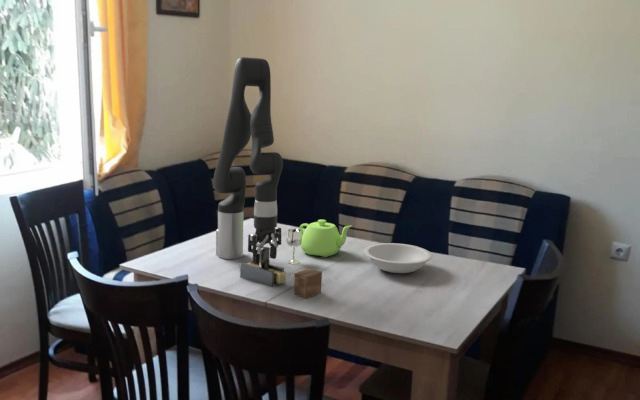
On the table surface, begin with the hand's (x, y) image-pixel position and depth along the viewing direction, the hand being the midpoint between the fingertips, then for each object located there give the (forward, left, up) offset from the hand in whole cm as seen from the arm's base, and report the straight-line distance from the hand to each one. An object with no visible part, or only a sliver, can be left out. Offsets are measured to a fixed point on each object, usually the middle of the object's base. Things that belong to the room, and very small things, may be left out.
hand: (264, 261), depth 212 cm
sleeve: (-1, 0, -7) cm, 7 cm away
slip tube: (0, 0, -6) cm, 6 cm away
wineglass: (-5, +22, -7) cm, 24 cm away
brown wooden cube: (+18, 0, -7) cm, 19 cm away
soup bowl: (+28, +40, -7) cm, 49 cm away
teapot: (-3, +38, -7) cm, 39 cm away
